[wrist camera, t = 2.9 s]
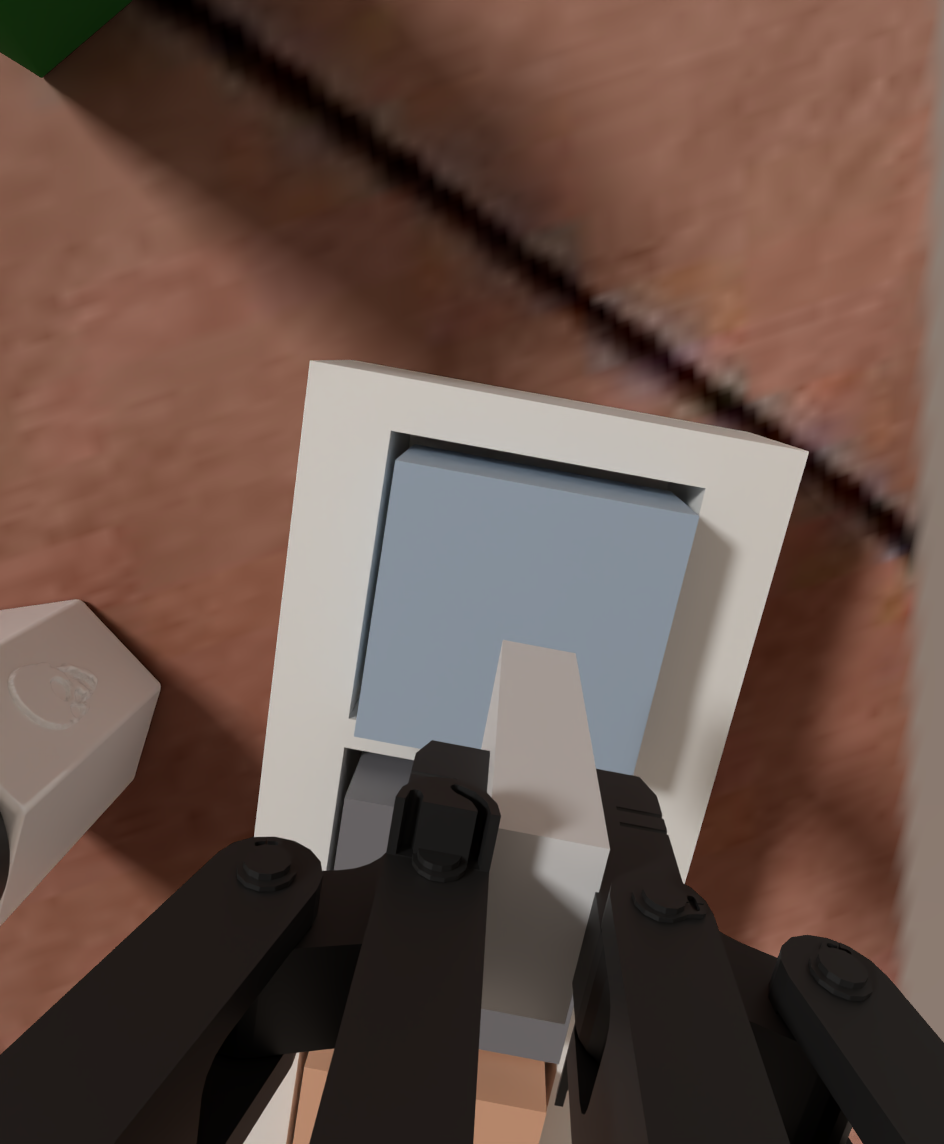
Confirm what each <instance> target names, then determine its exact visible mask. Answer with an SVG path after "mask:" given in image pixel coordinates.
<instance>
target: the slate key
mask: <svg viewBox="0 0 944 1144" xmlns="http://www.w3.org/2000/svg"><path fill="white" fill-rule="evenodd" d="M698 520H699V515H698V514H697V513H696V512H694V511H693V510H692V509H691V508H690V507H689V506H688V505H686V504H685V503H684V502H683V501H682V500H681V499H679V498H678V497H677V496H676V495H675V494H674V493H672V492H671V491H668V490H662V489H657V488H651V487H646V486H640V485H635V484H629V483H624V482H618V481H613V480H608V479H602V478H597V477H591V476H586V475H580V474H575V473H569V472H564V471H558V470H553V469H548V468H542V467H537V466H531V465H526V464H520V463H515V462H509V461H504V460H498V459H493V458H487V457H482V456H477V455H471V454H466V453H460V452H455V451H449V450H444V449H438V448H433V447H427V446H422V445H417V444H414V445H413V446H411V447H410V448H409V449H408V450H407V451H406V452H404V453H403V454H402V455H401V456H400V457H398V458H397V459H396V460H395V465H394V472H393V478H392V485H391V492H390V498H389V505H388V512H387V518H386V525H385V532H384V538H383V545H382V552H381V558H380V565H379V572H378V578H377V585H376V592H375V598H374V605H373V612H372V618H371V625H370V632H369V638H368V645H367V652H366V658H365V665H364V672H363V678H362V685H361V692H360V698H359V705H358V712H357V718H356V725H355V732H354V737H359V738H364V739H370V740H375V741H380V742H386V743H391V744H397V745H402V746H407V747H413V748H418V749H421V748H423V747H424V746H425V745H427V744H428V743H429V742H430V741H432V740H434V741H439V742H445V743H450V744H455V745H461V746H466V747H471V748H477V749H481V747H482V742H483V737H484V732H485V727H486V721H487V716H488V711H489V706H490V701H491V696H492V691H493V686H494V681H495V676H496V671H497V666H498V661H499V656H500V651H501V646H502V641H503V640H507V641H512V642H518V643H523V644H528V645H534V646H539V647H544V648H550V649H555V650H560V651H566V652H571V653H576V658H577V664H578V669H579V675H580V681H581V686H582V692H583V698H584V703H585V709H586V715H587V721H588V726H589V732H590V738H591V743H592V749H593V755H594V761H595V766H596V769H601V770H606V771H611V772H617V773H622V774H627V775H633V774H634V770H635V766H636V762H637V758H638V754H639V750H640V747H641V743H642V739H643V735H644V731H645V727H646V723H647V719H648V715H649V711H650V708H651V704H652V700H653V696H654V692H655V688H656V684H657V680H658V676H659V672H660V669H661V665H662V661H663V657H664V653H665V649H666V645H667V641H668V637H669V633H670V630H671V626H672V622H673V618H674V614H675V610H676V606H677V602H678V598H679V594H680V591H681V587H682V583H683V579H684V575H685V571H686V567H687V563H688V559H689V555H690V552H691V548H692V544H693V540H694V536H695V532H696V528H697V524H698Z"/></svg>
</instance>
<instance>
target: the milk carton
mask: <svg viewBox="0 0 944 1144" xmlns="http://www.w3.org/2000/svg"><path fill="white" fill-rule="evenodd" d="M131 1H132V0H0V52H1V53H2V54H4V55H6V56H7V57H9V58H10V59H12V60H14V61H15V62H17V63H18V64H20V65H22V66H23V67H25V68H27V69H28V70H30V71H31V72H33V73H35V74H36V75H38V76H39V77H41V78H42V77H44V76H45V75H46V74H47V73H48V72H49V71H51V70H52V69H53V68H54V67H55V66H56V65H58V64H59V63H60V62H61V61H62V60H63V59H65V58H66V57H67V56H68V55H69V54H70V53H72V52H73V51H74V50H75V49H76V48H77V47H79V46H80V45H81V44H82V43H83V42H85V41H86V40H87V39H88V38H89V37H90V36H92V35H93V34H94V33H95V32H96V31H97V30H99V29H100V28H101V27H102V26H103V25H104V24H106V23H107V22H108V21H109V20H110V19H111V18H113V17H114V16H115V15H116V14H117V13H118V12H120V11H121V10H122V9H123V8H124V7H125V6H127V5H128V4H129V3H130V2H131Z"/></svg>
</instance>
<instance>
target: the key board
mask: <svg viewBox="0 0 944 1144" xmlns="http://www.w3.org/2000/svg"><path fill="white" fill-rule="evenodd" d="M414 444H417V445H422V446H427V447H433V448H438V449H444V450H449V451H455V452H460V453H466V454H471V455H477V456H482V457H487V458H493V459H498V460H504V461H509V462H515V463H520V464H526V465H531V466H537V467H542V468H548V469H553V470H558V471H564V472H569V473H575V474H580V475H586V476H591V477H597V478H602V479H608V480H613V481H618V482H624V483H629V484H635V485H640V486H646V487H651V488H657V489H662V490H668V491H671V492H672V493H674V494H675V495H676V496H677V497H678V498H679V499H681V500H682V501H683V502H684V503H685V504H686V505H688V506H689V507H690V508H691V509H692V510H693V511H694V512H696V513H697V514H698V515H699V520H698V524H697V528H696V532H695V536H694V540H693V544H692V548H691V552H690V555H689V559H688V563H687V567H686V571H685V575H684V579H683V583H682V587H681V591H680V594H679V598H678V602H677V606H676V610H675V614H674V618H673V622H672V626H671V630H670V633H669V637H668V641H667V645H666V649H665V653H664V657H663V661H662V665H661V669H660V672H659V676H658V680H657V684H656V688H655V692H654V696H653V700H652V704H651V708H650V711H649V715H648V719H647V723H646V727H645V731H644V735H643V739H642V743H641V747H640V750H639V754H638V758H637V762H636V766H635V770H634V774H633V776H638V777H640V778H641V779H642V780H643V781H644V782H645V783H646V785H647V786H648V787H649V788H650V789H651V790H652V791H653V792H654V793H655V794H656V796H657V798H658V802H659V805H660V808H661V812H662V819H664V822H665V825H666V828H667V835H669V838H670V842H671V845H672V848H673V852H674V855H675V858H676V862H677V865H678V868H679V872H680V875H681V878H682V882H683V883H684V884H685V881H686V878H687V874H688V871H689V867H690V864H691V860H692V857H693V853H694V850H695V846H696V843H697V839H698V836H699V832H700V829H701V825H702V822H703V819H704V815H705V812H706V808H707V805H708V801H709V798H710V794H711V791H712V787H713V784H714V780H715V777H716V773H717V770H718V766H719V763H720V759H721V756H722V752H723V749H724V745H725V742H726V738H727V735H728V732H729V728H730V725H731V721H732V718H733V714H734V711H735V707H736V704H737V700H738V697H739V693H740V690H741V686H742V683H743V679H744V676H745V672H746V669H747V665H748V662H749V658H750V655H751V651H752V648H753V645H754V641H755V638H756V634H757V631H758V627H759V624H760V620H761V617H762V613H763V610H764V606H765V603H766V599H767V596H768V592H769V589H770V585H771V582H772V578H773V575H774V571H775V568H776V564H777V561H778V557H779V554H780V551H781V547H782V544H783V540H784V537H785V533H786V530H787V526H788V523H789V519H790V516H791V512H792V509H793V505H794V502H795V498H796V495H797V491H798V488H799V484H800V481H801V477H802V474H803V470H804V467H805V464H806V460H807V457H808V453H809V451H805V450H802V449H799V448H796V447H793V446H790V445H787V444H784V443H781V442H777V441H774V440H771V439H768V438H765V437H762V436H759V435H756V434H752V433H749V432H745V431H739V430H734V429H728V428H723V427H717V426H712V425H706V424H701V423H695V422H690V421H685V420H679V419H674V418H668V417H663V416H657V415H652V414H646V413H641V412H635V411H630V410H624V409H619V408H613V407H608V406H602V405H597V404H591V403H586V402H581V401H575V400H570V399H564V398H559V397H553V396H548V395H542V394H537V393H531V392H526V391H520V390H515V389H509V388H504V387H498V386H493V385H487V384H482V383H477V382H471V381H466V380H460V379H455V378H449V377H444V376H438V375H433V374H427V373H422V372H416V371H411V370H405V369H400V368H394V367H389V366H383V365H378V364H373V363H367V362H362V361H356V360H310V365H309V373H308V382H307V390H306V399H305V407H304V416H303V424H302V433H301V441H300V450H299V458H298V467H297V475H296V484H295V492H294V501H293V509H292V518H291V526H290V535H289V543H288V552H287V560H286V569H285V577H284V586H283V594H282V603H281V611H280V620H279V628H278V637H277V645H276V654H275V662H274V671H273V679H272V688H271V696H270V705H269V713H268V722H267V730H266V739H265V747H264V756H263V764H262V773H261V782H260V790H259V799H258V807H257V816H256V824H255V833H254V837H279V838H284V839H288V840H293V841H296V842H298V843H299V844H301V845H303V846H305V847H307V848H309V849H311V851H312V852H313V853H314V854H315V855H316V857H317V858H318V859H319V860H320V861H321V867H322V871H329V870H334V865H335V859H336V852H337V845H338V839H339V832H340V825H341V819H342V812H343V805H344V799H345V796H346V793H347V790H348V788H349V785H350V783H351V780H352V778H353V775H354V773H355V770H356V767H357V765H358V762H359V760H360V757H361V755H362V752H363V751H367V752H372V753H378V754H383V755H388V756H394V757H399V758H405V759H410V760H414V759H415V755H416V752H418V751H419V750H420V749H418V748H413V747H407V746H402V745H397V744H391V743H386V742H380V741H375V740H370V739H364V738H359V737H354V732H355V725H356V718H357V712H358V705H359V698H360V692H361V685H362V678H363V672H364V665H365V658H366V652H367V645H368V638H369V632H370V625H371V618H372V612H373V605H374V598H375V592H376V585H377V578H378V572H379V565H380V558H381V552H382V545H383V538H384V532H385V525H386V518H387V512H388V505H389V498H390V492H391V485H392V478H393V472H394V465H395V460H396V459H397V458H398V457H400V456H401V455H402V454H403V453H404V452H406V451H407V450H408V449H409V448H410V447H411V446H413V445H414ZM574 1024H575V1014H574V1008H573V1012H572V1016H571V1020H570V1023H569V1027H568V1031H567V1035H566V1039H565V1043H564V1047H563V1051H562V1055H561V1059H560V1062H559V1064H555V1063H549V1062H545V1086H546V1111H547V1113H546V1117H545V1121H544V1125H543V1129H542V1133H541V1137H540V1140H539V1144H572V1141H571V1124H570V1107H569V1090H568V1091H567V1094H566V1098H565V1101H564V1105H563V1107H561V1106H556V1105H554V1104H555V1099H556V1093H557V1088H558V1085H559V1081H560V1077H561V1073H562V1069H563V1066H564V1062H565V1058H566V1054H567V1050H568V1047H569V1043H570V1039H571V1035H572V1031H573V1028H574ZM308 1053H309V1051H308V1052H299V1053H296V1056H295V1059H294V1062H293V1064H292V1067H291V1068H290V1070H289V1072H288V1073H287V1075H286V1076H285V1078H284V1080H283V1081H282V1083H281V1084H280V1086H279V1087H278V1089H277V1091H276V1092H275V1094H274V1095H273V1097H272V1099H271V1100H270V1102H269V1103H268V1105H267V1107H266V1108H265V1110H264V1111H263V1113H262V1114H261V1116H260V1118H259V1119H258V1121H257V1122H256V1124H255V1126H254V1127H253V1129H252V1130H251V1132H250V1134H249V1135H248V1137H247V1138H246V1140H245V1142H244V1143H243V1144H293V1139H294V1132H295V1125H296V1119H297V1112H298V1105H299V1099H300V1092H301V1085H302V1079H303V1072H304V1066H305V1063H306V1060H307V1056H308Z"/></svg>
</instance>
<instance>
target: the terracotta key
mask: <svg viewBox="0 0 944 1144" xmlns="http://www.w3.org/2000/svg"><path fill="white" fill-rule="evenodd" d="M333 1052H334V1049H326V1050H317V1051H309V1053H308V1056H307V1060H306V1063H305V1066H304V1072H303V1079H302V1085H301V1092H300V1099H299V1105H298V1112H297V1119H296V1125H295V1132H294V1139H293V1144H309V1142H310V1139H311V1135H312V1131H313V1127H314V1124H315V1120H316V1116H317V1112H318V1108H319V1105H320V1101H321V1097H322V1093H323V1090H324V1086H325V1082H326V1078H327V1074H328V1071H329V1067H330V1063H331V1059H332V1056H333ZM546 1113H547V1111H546V1086H545V1062H544V1061H539V1060H534V1059H528V1058H523V1057H518V1056H512V1055H507V1054H502V1053H496V1052H491V1051H486V1050H480V1049H479V1056H478V1073H477V1090H476V1107H475V1124H474V1141H473V1144H539V1140H540V1137H541V1133H542V1129H543V1125H544V1121H545V1117H546Z"/></svg>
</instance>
